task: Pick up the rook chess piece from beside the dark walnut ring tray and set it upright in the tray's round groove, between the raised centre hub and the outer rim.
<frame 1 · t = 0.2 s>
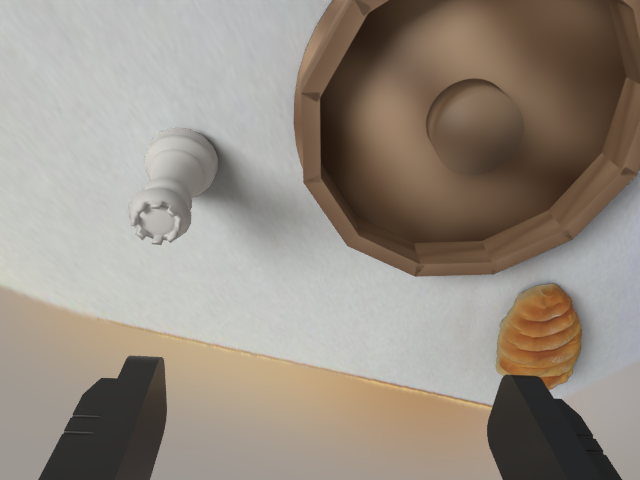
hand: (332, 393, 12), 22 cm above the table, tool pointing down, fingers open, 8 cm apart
rook chess piece: (184, 156, 33), on the table
pastry: (529, 326, 43), on the table
ring tray: (462, 113, 32), on the table
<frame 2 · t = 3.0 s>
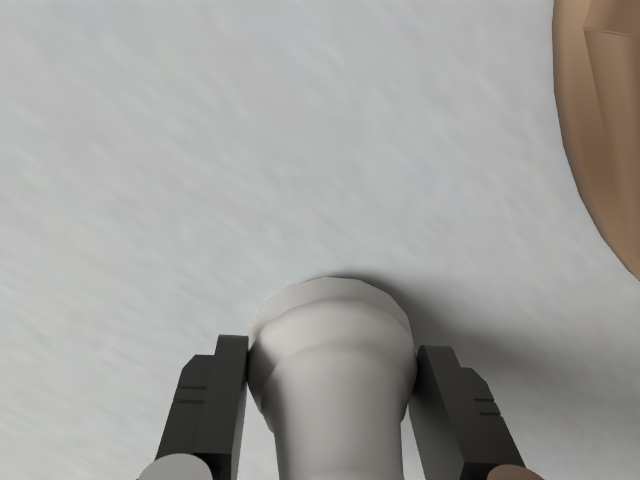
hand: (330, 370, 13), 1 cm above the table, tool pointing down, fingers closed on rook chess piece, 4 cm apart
rook chess piece: (328, 332, 14), on the table, touching gripper
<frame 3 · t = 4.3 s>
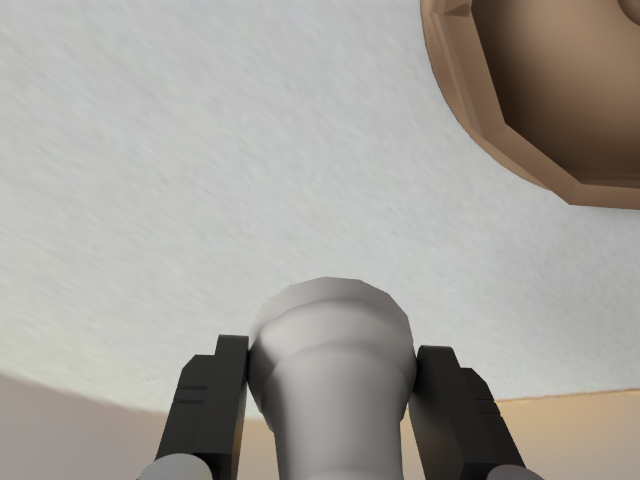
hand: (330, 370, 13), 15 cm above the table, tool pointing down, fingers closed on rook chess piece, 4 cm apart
rook chess piece: (328, 332, 14), point 13 cm above the table, touching gripper
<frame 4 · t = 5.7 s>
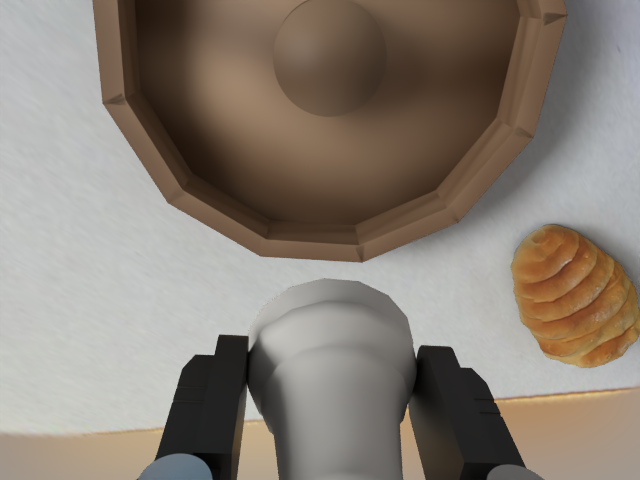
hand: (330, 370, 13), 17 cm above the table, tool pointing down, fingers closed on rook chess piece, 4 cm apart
rook chess piece: (328, 334, 14), point 16 cm above the table, touching gripper
pastry: (559, 288, 33), on the table
ring tray: (326, 50, 26), on the table
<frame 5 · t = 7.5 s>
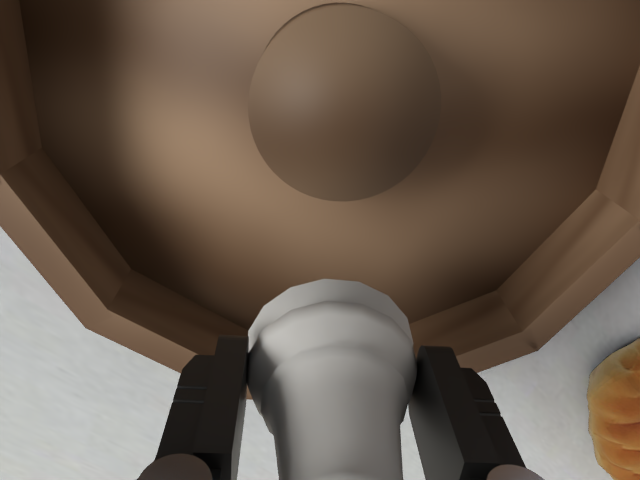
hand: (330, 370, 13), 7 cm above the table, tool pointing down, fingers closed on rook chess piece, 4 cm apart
rook chess piece: (328, 334, 14), point 5 cm above the table, touching gripper
ring tray: (336, 87, 16), on the table
when the fingers open (3 cm above the table, at t = 8.7 s): rook chess piece stays where it is, resting on ring tray.
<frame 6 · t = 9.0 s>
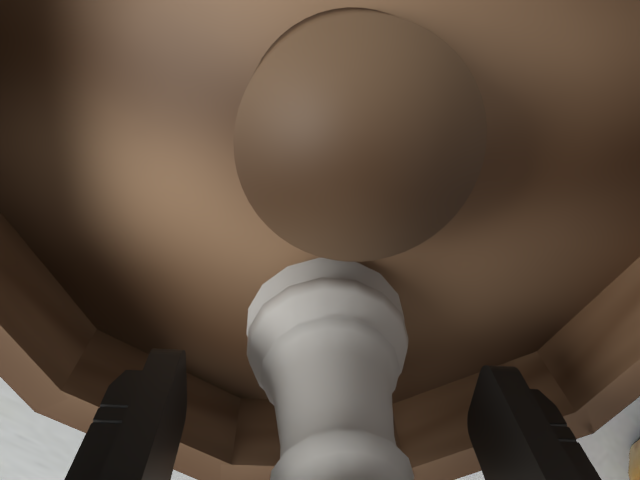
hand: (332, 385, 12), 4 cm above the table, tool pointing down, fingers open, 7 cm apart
rook chess piece: (324, 312, 15), point 1 cm above the table, touching ring tray
ring tray: (346, 111, 13), on the table
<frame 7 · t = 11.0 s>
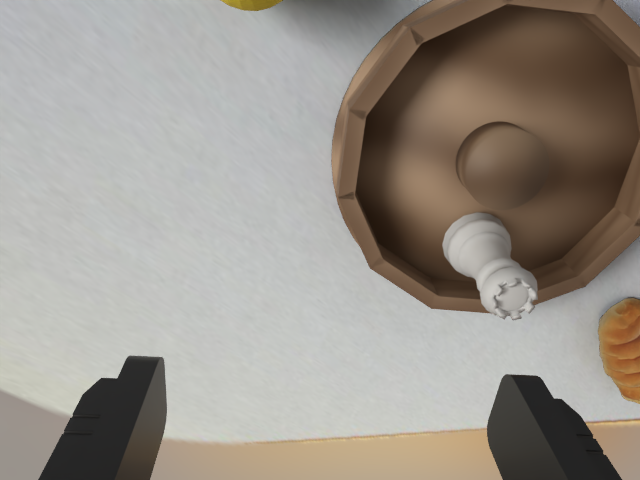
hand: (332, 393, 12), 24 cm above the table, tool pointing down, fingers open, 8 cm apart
rook chess piece: (472, 238, 36), point 1 cm above the table, touching ring tray
pastry: (633, 344, 42), on the table
ring tray: (489, 155, 34), on the table
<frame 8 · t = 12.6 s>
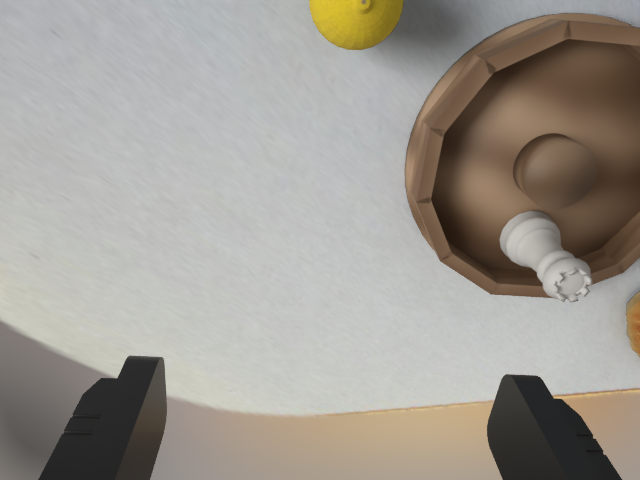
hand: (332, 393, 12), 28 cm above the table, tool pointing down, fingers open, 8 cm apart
rook chess piece: (524, 232, 41), point 1 cm above the table, touching ring tray
ring tray: (540, 161, 39), on the table
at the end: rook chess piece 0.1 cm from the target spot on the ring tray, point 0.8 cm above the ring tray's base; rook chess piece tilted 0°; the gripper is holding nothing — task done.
